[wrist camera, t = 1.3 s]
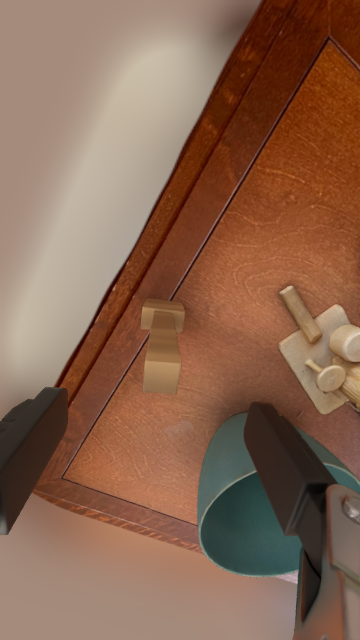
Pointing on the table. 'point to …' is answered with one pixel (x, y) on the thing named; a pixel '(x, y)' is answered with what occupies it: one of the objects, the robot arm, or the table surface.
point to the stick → (162, 345)
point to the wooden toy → (323, 354)
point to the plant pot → (248, 507)
